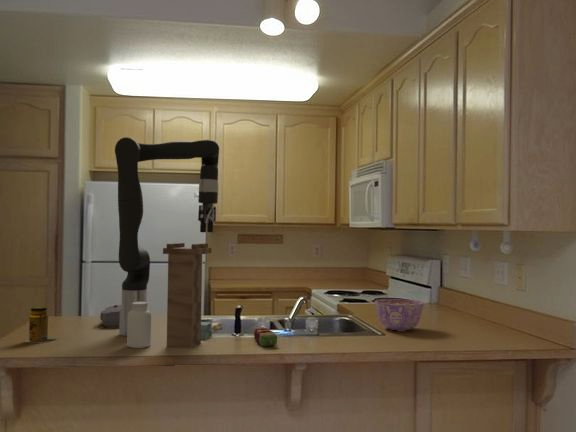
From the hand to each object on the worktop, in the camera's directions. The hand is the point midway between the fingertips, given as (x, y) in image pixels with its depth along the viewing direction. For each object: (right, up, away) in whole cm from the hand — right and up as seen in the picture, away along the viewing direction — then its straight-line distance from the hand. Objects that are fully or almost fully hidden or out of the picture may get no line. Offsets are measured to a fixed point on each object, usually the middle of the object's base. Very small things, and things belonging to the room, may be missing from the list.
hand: (206, 232), depth 215 cm
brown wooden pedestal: (-4, -39, -21) cm, 45 cm away
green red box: (+24, -40, -19) cm, 50 cm away
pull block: (+1, -40, 0) cm, 40 cm away
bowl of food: (+78, -41, +12) cm, 89 cm away
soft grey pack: (-40, -40, +17) cm, 59 cm away
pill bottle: (-20, -39, -26) cm, 51 cm away
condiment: (-57, -39, -19) cm, 71 cm away
